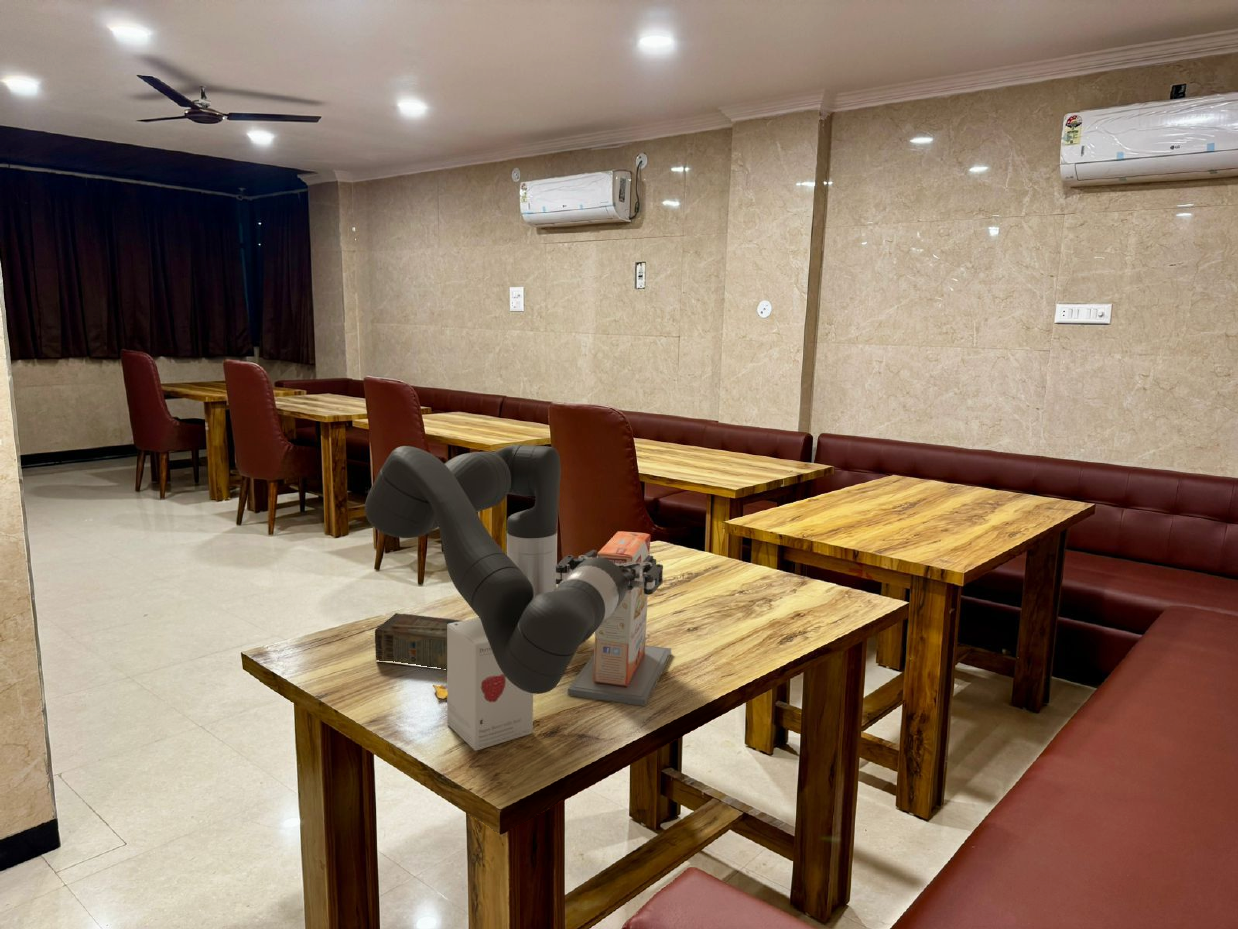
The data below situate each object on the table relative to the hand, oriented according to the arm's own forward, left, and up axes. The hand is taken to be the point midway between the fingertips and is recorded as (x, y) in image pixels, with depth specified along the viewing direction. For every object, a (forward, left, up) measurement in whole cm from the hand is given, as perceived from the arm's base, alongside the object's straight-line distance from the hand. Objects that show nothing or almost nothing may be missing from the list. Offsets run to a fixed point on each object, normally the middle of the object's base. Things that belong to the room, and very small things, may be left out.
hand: (622, 559), depth 119 cm
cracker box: (-2, +8, -21) cm, 22 cm away
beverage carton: (-32, +4, -22) cm, 39 cm away
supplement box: (-15, -15, -22) cm, 30 cm away
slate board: (-2, +8, -22) cm, 23 cm away
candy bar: (-20, -3, -22) cm, 30 cm away
